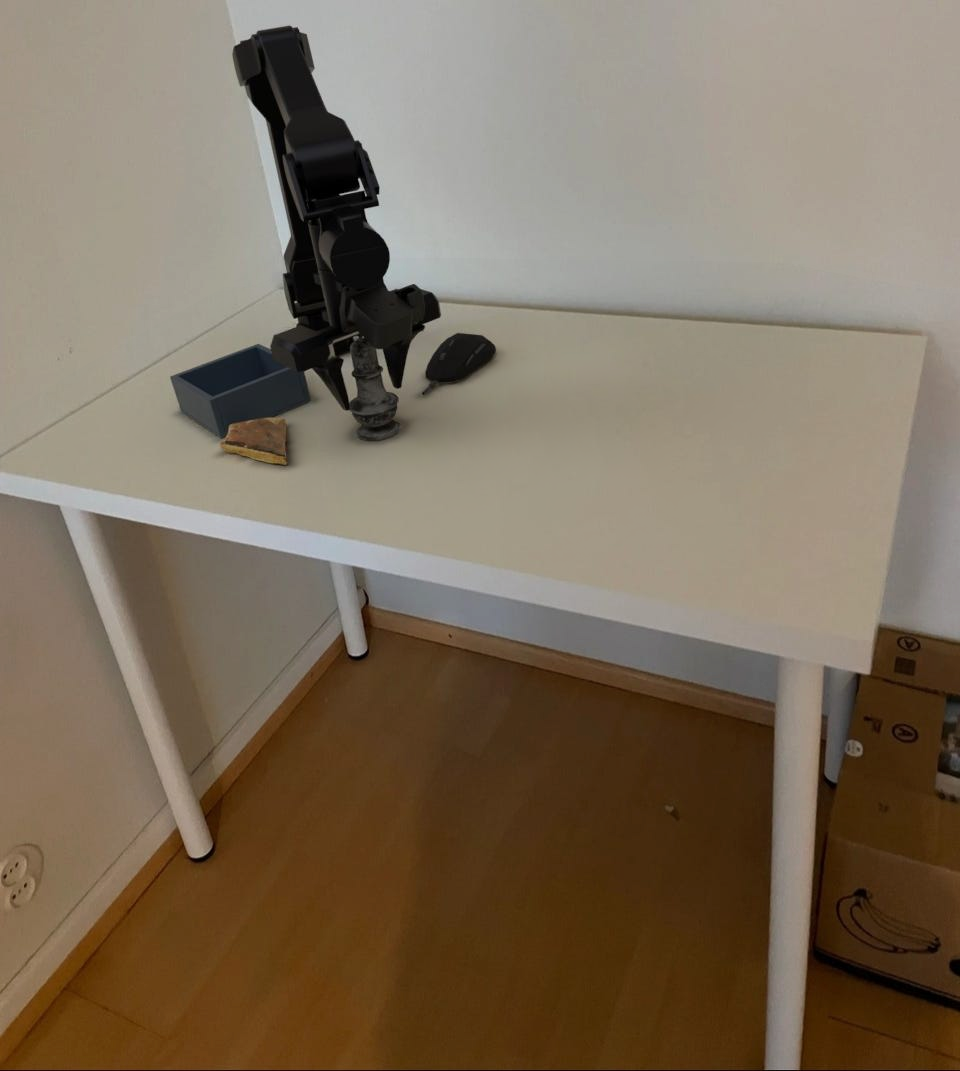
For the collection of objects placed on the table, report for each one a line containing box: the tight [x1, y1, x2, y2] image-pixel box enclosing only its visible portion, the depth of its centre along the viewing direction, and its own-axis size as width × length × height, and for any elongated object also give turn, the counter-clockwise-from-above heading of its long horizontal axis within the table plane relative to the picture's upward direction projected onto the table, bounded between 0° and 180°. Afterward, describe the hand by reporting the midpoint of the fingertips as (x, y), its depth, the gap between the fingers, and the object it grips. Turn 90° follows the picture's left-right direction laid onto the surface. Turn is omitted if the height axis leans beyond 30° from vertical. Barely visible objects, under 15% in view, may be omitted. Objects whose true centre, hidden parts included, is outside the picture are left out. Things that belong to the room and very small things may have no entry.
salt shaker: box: [348, 334, 402, 442], centre depth 107 cm, size 6×6×12 cm
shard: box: [219, 417, 288, 466], centre depth 109 cm, size 11×8×2 cm
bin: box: [169, 343, 312, 439], centre depth 120 cm, size 13×12×5 cm
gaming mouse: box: [421, 332, 497, 396], centre depth 121 cm, size 6×15×4 cm, turn 149°
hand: (372, 398), depth 108 cm, fingers closed on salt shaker, 7 cm apart
